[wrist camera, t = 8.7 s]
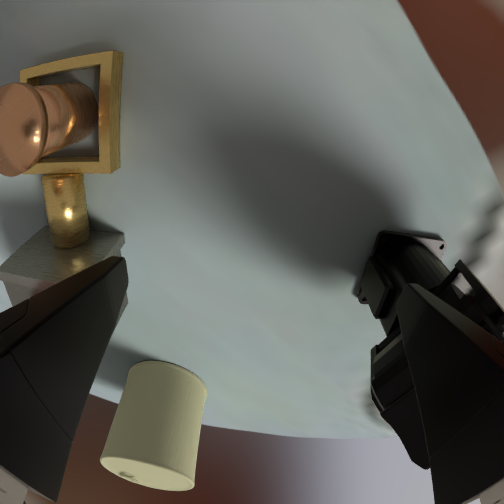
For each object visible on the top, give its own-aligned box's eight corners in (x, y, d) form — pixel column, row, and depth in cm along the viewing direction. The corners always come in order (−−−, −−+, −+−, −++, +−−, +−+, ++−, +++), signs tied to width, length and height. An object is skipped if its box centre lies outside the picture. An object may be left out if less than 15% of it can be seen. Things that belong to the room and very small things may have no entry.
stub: (104, 74, 16) (41, 75, 10) (102, 146, 19) (44, 175, 12) (46, 83, 16) (-20, 93, 10) (47, 149, 18) (-14, 177, 12)
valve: (119, 167, 19) (42, 223, 11) (133, 303, 25) (95, 386, 17) (35, 168, 19) (-45, 217, 11) (60, 290, 25) (12, 358, 17)
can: (113, 374, 31) (81, 461, 20) (164, 349, 28) (133, 458, 18) (169, 413, 34) (153, 495, 24) (224, 395, 32) (215, 493, 21)
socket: (123, 52, 15) (112, 50, 14) (120, 167, 19) (110, 173, 18) (33, 69, 15) (20, 70, 14) (35, 168, 19) (23, 174, 18)
